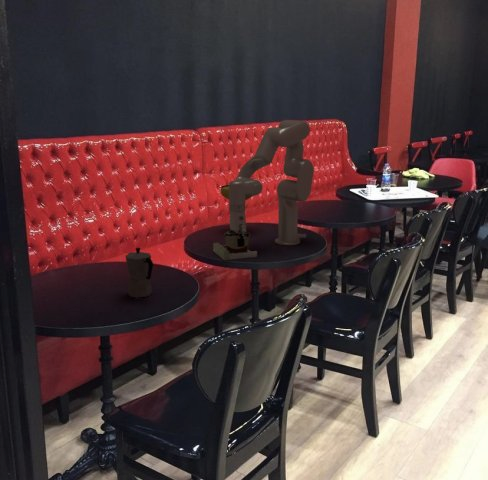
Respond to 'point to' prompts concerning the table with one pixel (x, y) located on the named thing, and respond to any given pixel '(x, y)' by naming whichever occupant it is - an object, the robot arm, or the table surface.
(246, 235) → the food container
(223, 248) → the chute mount
